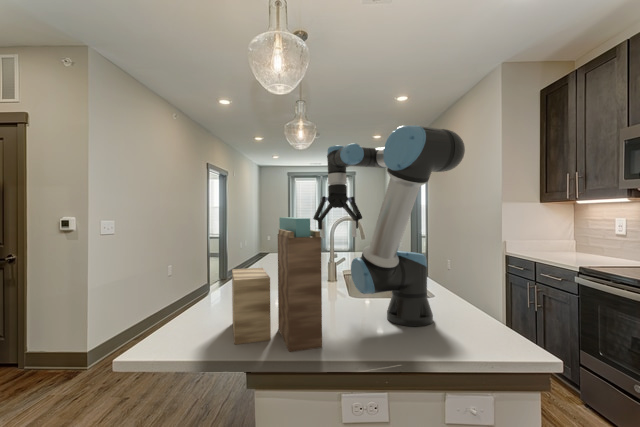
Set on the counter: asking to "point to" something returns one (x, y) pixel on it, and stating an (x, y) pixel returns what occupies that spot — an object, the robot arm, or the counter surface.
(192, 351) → the counter surface
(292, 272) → the chute stand
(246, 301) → the wooden toy block
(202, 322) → the counter surface
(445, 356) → the counter surface
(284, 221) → the bar
